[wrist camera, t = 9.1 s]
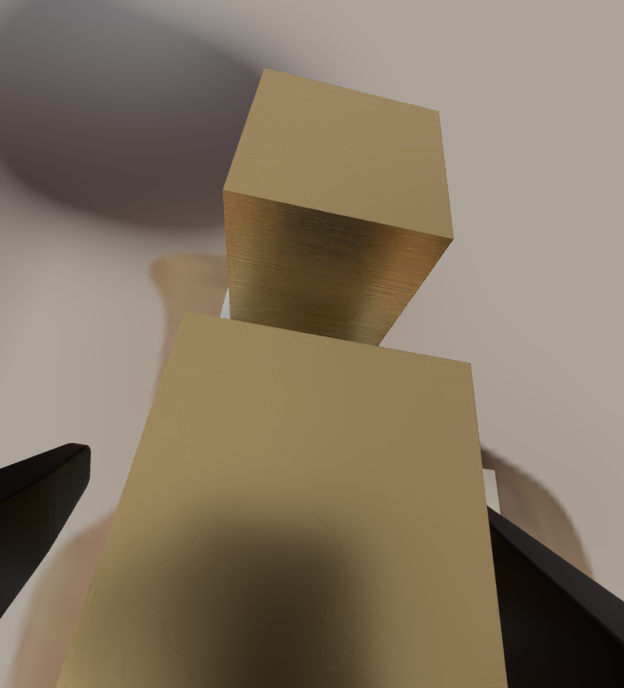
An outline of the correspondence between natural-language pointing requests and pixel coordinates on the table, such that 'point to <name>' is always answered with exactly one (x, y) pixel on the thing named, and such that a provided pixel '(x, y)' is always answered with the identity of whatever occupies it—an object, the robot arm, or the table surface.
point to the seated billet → (333, 209)
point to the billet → (297, 524)
